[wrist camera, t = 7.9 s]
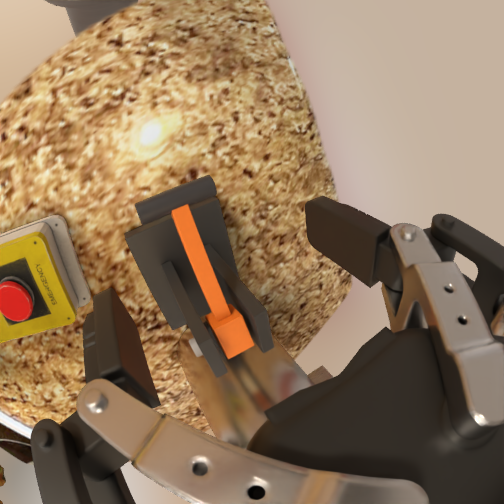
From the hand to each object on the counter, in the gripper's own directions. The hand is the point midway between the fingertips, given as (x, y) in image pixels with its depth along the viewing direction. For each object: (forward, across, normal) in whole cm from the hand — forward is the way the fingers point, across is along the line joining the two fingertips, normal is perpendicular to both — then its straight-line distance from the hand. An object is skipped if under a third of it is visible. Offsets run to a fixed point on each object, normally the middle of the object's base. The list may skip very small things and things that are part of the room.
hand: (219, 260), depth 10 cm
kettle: (+15, -1, +24) cm, 28 cm away
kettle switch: (+8, 0, +6) cm, 9 cm away
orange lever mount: (+15, 0, +10) cm, 18 cm away
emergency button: (+15, +17, +3) cm, 23 cm away
